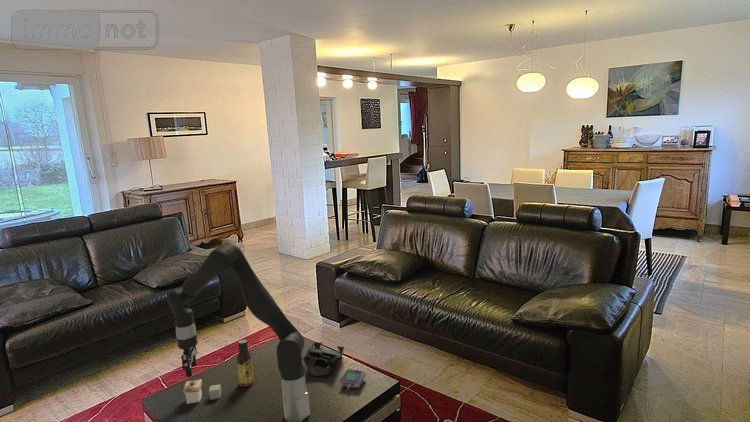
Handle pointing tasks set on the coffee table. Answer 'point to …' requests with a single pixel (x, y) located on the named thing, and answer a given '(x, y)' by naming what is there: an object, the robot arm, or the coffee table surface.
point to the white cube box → (193, 397)
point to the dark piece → (321, 359)
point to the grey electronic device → (352, 378)
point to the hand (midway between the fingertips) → (191, 371)
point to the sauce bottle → (244, 365)
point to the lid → (192, 386)
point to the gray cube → (215, 391)
